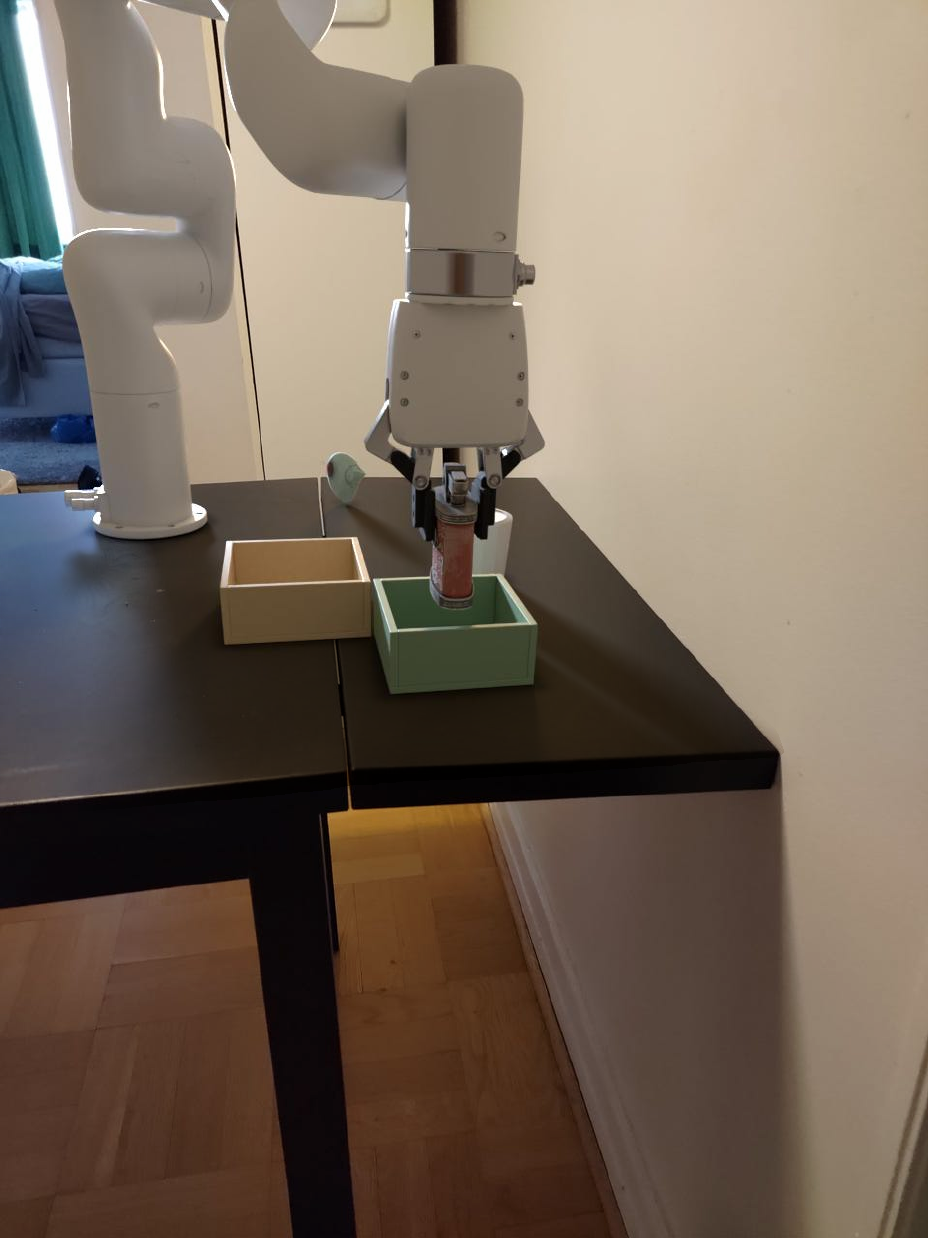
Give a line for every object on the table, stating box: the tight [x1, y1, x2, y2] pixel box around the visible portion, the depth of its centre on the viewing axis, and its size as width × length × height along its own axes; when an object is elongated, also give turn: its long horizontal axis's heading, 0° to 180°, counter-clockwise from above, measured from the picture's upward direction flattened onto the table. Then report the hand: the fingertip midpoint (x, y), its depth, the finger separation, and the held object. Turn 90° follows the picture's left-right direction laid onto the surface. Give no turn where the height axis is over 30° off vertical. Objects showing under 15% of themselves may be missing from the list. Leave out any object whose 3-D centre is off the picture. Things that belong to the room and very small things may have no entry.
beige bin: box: [219, 536, 372, 646], centre depth 76 cm, size 12×12×5 cm
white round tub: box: [472, 508, 514, 577], centre depth 85 cm, size 7×7×7 cm
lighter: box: [429, 462, 478, 610], centre depth 65 cm, size 8×3×10 cm, turn 7°
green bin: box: [372, 574, 539, 695], centre depth 69 cm, size 11×11×5 cm
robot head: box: [325, 451, 367, 504], centre depth 110 cm, size 8×4×7 cm, turn 31°
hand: (452, 533), depth 66 cm, fingers closed on lighter, 3 cm apart
